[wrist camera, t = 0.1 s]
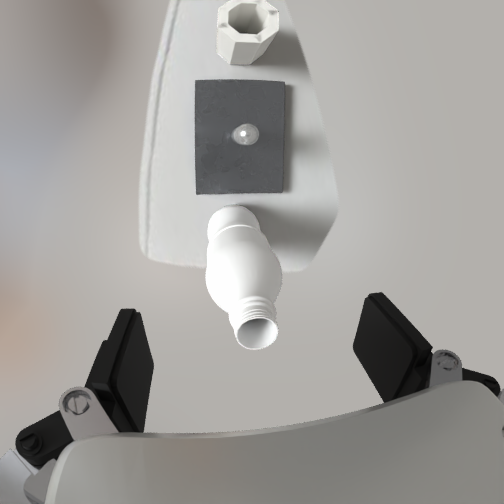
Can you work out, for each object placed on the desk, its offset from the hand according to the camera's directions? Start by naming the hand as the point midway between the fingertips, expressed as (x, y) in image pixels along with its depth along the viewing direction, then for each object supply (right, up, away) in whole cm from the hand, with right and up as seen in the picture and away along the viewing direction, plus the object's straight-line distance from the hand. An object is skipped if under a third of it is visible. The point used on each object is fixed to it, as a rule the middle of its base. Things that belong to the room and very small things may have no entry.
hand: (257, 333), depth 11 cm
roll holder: (-2, +19, +26) cm, 32 cm away
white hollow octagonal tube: (-2, +32, +20) cm, 38 cm away
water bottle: (-3, +7, +31) cm, 32 cm away
